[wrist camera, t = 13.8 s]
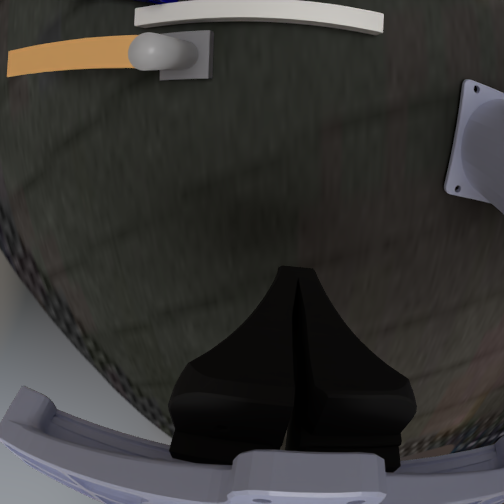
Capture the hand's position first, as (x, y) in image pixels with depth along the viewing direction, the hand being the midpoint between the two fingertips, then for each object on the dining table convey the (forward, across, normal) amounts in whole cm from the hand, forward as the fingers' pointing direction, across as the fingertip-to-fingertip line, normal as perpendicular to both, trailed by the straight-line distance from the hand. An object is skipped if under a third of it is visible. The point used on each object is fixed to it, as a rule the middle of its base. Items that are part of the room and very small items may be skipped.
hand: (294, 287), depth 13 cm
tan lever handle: (+8, +11, -10) cm, 17 cm away
